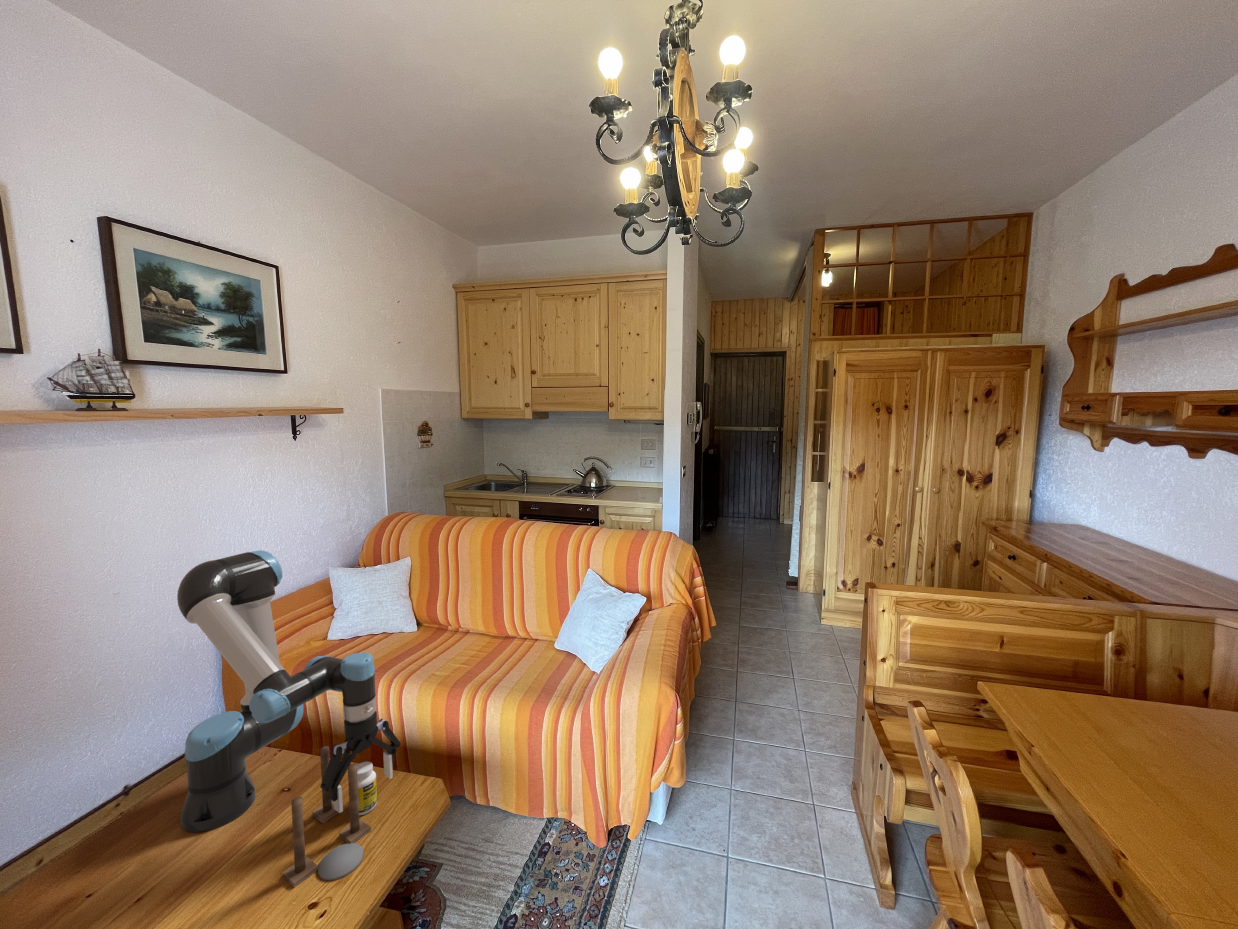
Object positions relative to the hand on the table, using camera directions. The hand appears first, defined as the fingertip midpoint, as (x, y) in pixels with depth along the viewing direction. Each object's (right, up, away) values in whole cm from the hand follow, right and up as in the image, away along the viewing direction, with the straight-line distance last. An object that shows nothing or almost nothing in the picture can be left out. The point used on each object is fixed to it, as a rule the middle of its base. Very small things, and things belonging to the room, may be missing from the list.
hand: (364, 792), depth 127 cm
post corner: (+2, -5, -8) cm, 9 cm away
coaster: (+3, -5, -16) cm, 17 cm away
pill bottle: (0, -4, 0) cm, 4 cm away
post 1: (-5, -6, -19) cm, 20 cm away
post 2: (-9, -4, -1) cm, 10 cm away
